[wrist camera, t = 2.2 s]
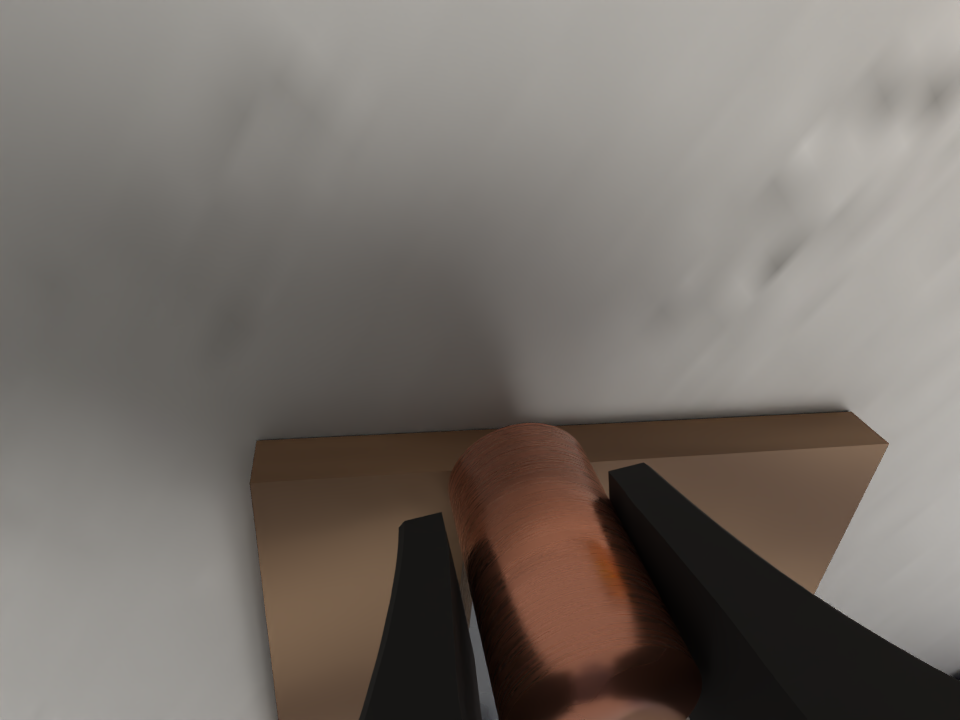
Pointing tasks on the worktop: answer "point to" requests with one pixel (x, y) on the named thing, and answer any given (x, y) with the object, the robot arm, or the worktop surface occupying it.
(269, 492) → the nutcracker base
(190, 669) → the worktop surface
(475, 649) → the lever
